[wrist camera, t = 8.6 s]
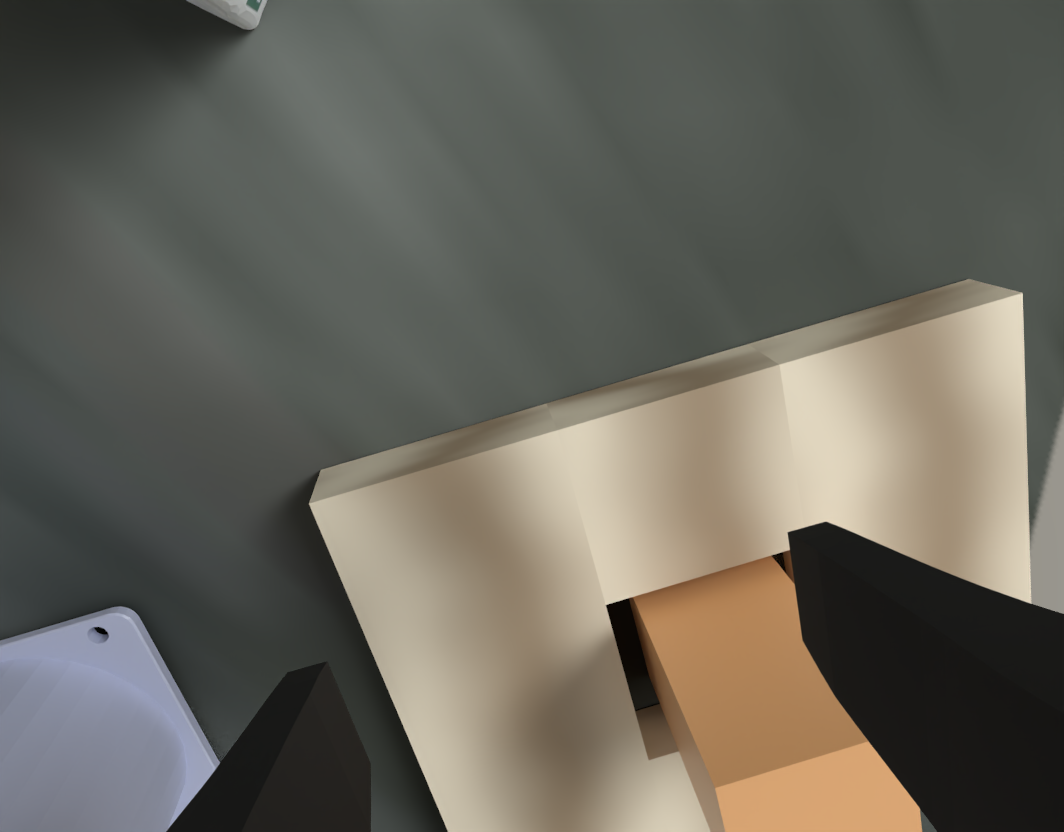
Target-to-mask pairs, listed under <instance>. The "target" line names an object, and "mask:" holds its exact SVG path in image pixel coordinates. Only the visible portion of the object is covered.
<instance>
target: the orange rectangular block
mask: <svg viewBox="0 0 1064 832" xmlns="http://www.w3.org/2000/svg"><path fill="white" fill-rule="evenodd" d="M629 601H630V605H631V609H632V612H633V616H634V620H635V624H636V628H637V632H638V635H639V639H640V643H641V647H642V651H643V654H644V658H645V662H646V666H647V670H648V674H649V677H650V680H651V682H652V685H653V687H654V690H655V692H656V695H657V697H658V700H659V702H660V705H661V707H662V710H663V713H664V715H665V718H666V720H667V723H668V725H669V728H670V730H671V733H672V735H673V738H674V740H675V743H676V745H677V748H678V750H679V753H680V755H681V758H682V760H683V763H684V766H685V768H686V771H687V773H688V776H689V778H690V781H691V783H692V786H693V788H694V791H695V793H696V796H697V798H698V801H699V803H700V806H701V808H702V811H703V814H704V816H705V819H706V821H707V824H708V826H709V829H710V831H711V832H922V827H921V818H920V808H919V807H918V805H917V804H916V803H915V801H914V800H913V799H912V797H911V796H910V795H909V794H908V792H907V791H906V790H905V788H904V787H903V786H902V784H901V783H900V782H899V780H898V779H897V778H896V777H895V775H894V774H893V773H892V771H891V770H890V769H889V767H888V766H887V765H886V764H885V762H884V761H883V760H882V758H881V757H880V756H879V754H878V753H877V752H876V750H875V749H874V748H873V747H872V745H871V744H870V743H869V741H868V740H867V739H866V737H865V736H864V735H863V733H862V732H861V731H860V729H859V728H858V727H857V725H856V724H855V723H854V721H853V720H852V719H851V717H850V716H849V715H848V714H847V712H846V711H845V709H844V708H843V707H842V705H841V704H840V703H839V701H838V700H837V699H836V697H835V696H834V694H833V692H832V691H831V689H830V687H829V686H828V684H827V682H826V681H825V679H824V677H823V676H822V674H821V672H820V671H819V669H818V667H817V665H816V663H815V662H814V660H813V658H812V656H811V655H810V653H809V651H808V649H807V648H806V646H805V644H804V642H803V640H802V634H801V626H800V619H799V612H798V605H797V598H796V590H795V584H794V583H793V582H792V581H791V579H790V578H789V577H788V576H787V574H786V573H785V572H784V571H783V569H782V568H781V567H780V566H779V564H778V563H777V562H776V561H775V560H774V558H773V557H772V556H768V557H765V558H761V559H758V560H755V561H751V562H748V563H745V564H741V565H738V566H735V567H731V568H728V569H725V570H721V571H718V572H714V573H711V574H708V575H704V576H701V577H698V578H694V579H691V580H688V581H684V582H681V583H678V584H674V585H671V586H668V587H664V588H661V589H658V590H654V591H651V592H648V593H644V594H641V595H638V596H634V597H631V598H629Z"/></svg>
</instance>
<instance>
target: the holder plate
mask: <svg viewBox="0 0 1064 832" xmlns="http://www.w3.org/2000/svg"><path fill="white" fill-rule="evenodd" d="M309 505H310V508H311V510H312V512H313V515H314V517H315V519H316V522H317V524H318V526H319V529H320V531H321V534H322V536H323V538H324V541H325V543H326V545H327V548H328V550H329V552H330V555H331V557H332V559H333V562H334V564H335V567H336V569H337V571H338V574H339V576H340V578H341V581H342V583H343V585H344V588H345V590H346V592H347V595H348V597H349V600H350V602H351V604H352V607H353V609H354V611H355V614H356V616H357V618H358V621H359V623H360V625H361V628H362V630H363V633H364V635H365V637H366V640H367V642H368V644H369V647H370V649H371V651H372V654H373V656H374V658H375V661H376V663H377V666H378V668H379V670H380V673H381V675H382V677H383V680H384V682H385V684H386V687H387V689H388V691H389V694H390V696H391V698H392V701H393V703H394V706H395V708H396V710H397V713H398V715H399V717H400V720H401V722H402V724H403V727H404V729H405V731H406V734H407V736H408V739H409V741H410V743H411V746H412V748H413V750H414V753H415V755H416V757H417V760H418V762H419V764H420V767H421V769H422V772H423V774H424V776H425V779H426V781H427V783H428V786H429V788H430V790H431V793H432V795H433V797H434V800H435V802H436V805H437V807H438V809H439V812H440V814H441V816H442V819H443V821H444V823H445V826H446V828H447V830H448V832H711V831H710V829H709V826H708V824H707V821H706V819H705V816H704V814H703V811H702V808H701V806H700V803H699V801H698V798H697V796H696V793H695V791H694V788H693V786H692V783H691V781H690V778H689V776H688V773H687V771H686V768H685V766H684V763H683V760H682V758H681V755H680V753H679V750H678V748H677V745H676V743H675V740H674V738H673V735H672V733H671V730H670V728H669V725H668V723H667V720H666V718H665V715H664V713H663V710H662V707H661V705H660V704H658V705H654V706H651V707H648V708H644V709H641V710H638V711H635V709H634V706H633V702H632V698H631V695H630V691H629V688H628V684H627V680H626V677H625V673H624V670H623V666H622V662H621V659H620V655H619V651H618V648H617V644H616V641H615V637H614V633H613V630H612V626H611V622H610V619H609V615H608V612H607V608H606V605H608V604H611V603H614V602H618V601H621V600H624V599H628V598H631V597H634V596H638V595H641V594H644V593H648V592H651V591H654V590H658V589H661V588H664V587H668V586H671V585H674V584H678V583H681V582H684V581H688V580H691V579H694V578H698V577H701V576H704V575H708V574H711V573H714V572H718V571H721V570H725V569H728V568H731V567H735V566H738V565H741V564H745V563H748V562H751V561H755V560H758V559H761V558H765V557H768V556H771V555H775V554H778V553H781V552H783V557H784V563H785V569H786V574H787V576H788V577H789V578H790V579H791V581H792V582H793V583H794V576H793V569H792V561H791V554H790V547H789V540H788V533H787V532H790V531H794V530H797V529H801V528H804V527H808V526H811V525H815V524H819V523H822V522H829V523H831V524H834V525H837V526H839V527H842V528H844V529H846V530H849V531H851V532H853V533H856V534H858V535H860V536H863V537H865V538H867V539H869V540H872V541H874V542H876V543H879V544H881V545H883V546H885V547H888V548H890V549H892V550H895V551H897V552H899V553H902V554H904V555H906V556H909V557H911V558H913V559H916V560H918V561H920V562H923V563H925V564H927V565H930V566H932V567H935V568H937V569H939V570H942V571H944V572H947V573H949V574H952V575H954V576H957V577H959V578H962V579H965V580H967V581H970V582H972V583H975V584H977V585H980V586H983V587H985V588H988V589H991V590H994V591H997V592H999V593H1002V594H1005V595H1008V596H1011V597H1013V598H1016V599H1019V600H1022V601H1025V602H1028V603H1030V604H1031V578H1030V542H1029V506H1028V470H1027V435H1026V399H1025V363H1024V327H1023V293H1021V292H1017V291H1013V290H1009V289H1005V288H1001V287H997V286H994V285H990V284H986V283H982V282H978V281H974V280H970V279H967V280H964V281H960V282H957V283H954V284H950V285H947V286H943V287H940V288H937V289H933V290H930V291H926V292H923V293H920V294H916V295H913V296H909V297H906V298H903V299H899V300H896V301H892V302H889V303H886V304H882V305H879V306H875V307H872V308H869V309H865V310H862V311H858V312H855V313H852V314H848V315H845V316H842V317H838V318H835V319H831V320H828V321H825V322H821V323H818V324H814V325H811V326H808V327H804V328H801V329H797V330H794V331H791V332H787V333H784V334H780V335H777V336H774V337H770V338H767V339H763V340H760V341H757V342H753V343H750V344H746V345H743V346H740V347H736V348H733V349H729V350H726V351H723V352H719V353H716V354H712V355H709V356H706V357H702V358H699V359H696V360H692V361H689V362H685V363H682V364H679V365H675V366H672V367H668V368H665V369H662V370H658V371H655V372H651V373H648V374H645V375H641V376H638V377H634V378H631V379H628V380H624V381H621V382H617V383H614V384H611V385H607V386H604V387H600V388H597V389H594V390H590V391H587V392H583V393H580V394H577V395H573V396H570V397H566V398H563V399H560V400H556V401H553V402H550V403H546V404H543V405H539V406H536V407H533V408H529V409H526V410H522V411H519V412H516V413H512V414H509V415H505V416H502V417H499V418H495V419H492V420H488V421H485V422H482V423H478V424H475V425H471V426H468V427H465V428H461V429H458V430H454V431H451V432H448V433H444V434H441V435H437V436H434V437H431V438H427V439H424V440H420V441H417V442H414V443H410V444H407V445H403V446H400V447H397V448H393V449H390V450H387V451H383V452H380V453H376V454H373V455H370V456H366V457H363V458H359V459H356V460H353V461H349V462H346V463H342V464H339V465H336V466H332V467H329V468H325V469H322V470H321V471H320V474H319V476H318V479H317V482H316V485H315V488H314V491H313V493H312V496H311V499H310V502H309ZM794 584H795V583H794Z"/></svg>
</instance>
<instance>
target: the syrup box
mask: <svg viewBox="0 0 1064 832" xmlns="http://www.w3.org/2000/svg"><path fill="white" fill-rule="evenodd" d="M186 1H188V2H190V3H192V4H194V5H196V6H198V7H200V8H202V9H204V10H206V11H208V12H210V13H212V14H214V15H216V16H218V17H220V18H222V19H224V20H226V21H228V22H230V23H232V24H234V25H236V26H238V27H240V28H242V29H247V30H252V29H255V28H256V27H257V26H258V23H259V20H260V17H261V15H262V12H263V9H264V7H265V5H266V2H267V0H186Z"/></svg>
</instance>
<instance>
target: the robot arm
mask: <svg viewBox="0 0 1064 832" xmlns="http://www.w3.org/2000/svg"><path fill="white" fill-rule="evenodd" d="M787 533H788V540H789V547H790V554H791V561H792V569H793V576H794V583H795V590H796V598H797V605H798V612H799V619H800V626H801V634H802V640H803V642H804V644H805V646H806V648H807V649H808V651H809V653H810V655H811V656H812V658H813V660H814V662H815V663H816V665H817V667H818V669H819V671H820V672H821V674H822V676H823V677H824V679H825V681H826V682H827V684H828V686H829V687H830V689H831V691H832V692H833V694H834V696H835V697H836V699H837V700H838V701H839V703H840V704H841V705H842V707H843V708H844V709H845V711H846V712H847V714H848V715H849V716H850V717H851V719H852V720H853V721H854V723H855V724H856V725H857V727H858V728H859V729H860V731H861V732H862V733H863V735H864V736H865V737H866V739H867V740H868V741H869V743H870V744H871V745H872V747H873V748H874V749H875V750H876V752H877V753H878V754H879V756H880V757H881V758H882V760H883V761H884V762H885V764H886V765H887V766H888V767H889V769H890V770H891V771H892V773H893V774H894V775H895V777H896V778H897V779H898V780H899V782H900V783H901V784H902V786H903V787H904V788H905V790H906V791H907V792H908V794H909V795H910V796H911V797H912V799H913V800H914V801H915V803H916V804H917V805H918V807H919V808H920V809H921V811H922V812H923V813H924V814H925V816H926V817H927V818H928V820H929V821H930V822H931V824H932V825H933V826H934V828H935V829H936V830H937V832H1064V614H1062V613H1058V612H1055V611H1052V610H1049V609H1046V608H1042V607H1039V606H1036V605H1033V604H1030V603H1028V602H1025V601H1022V600H1019V599H1016V598H1013V597H1011V596H1008V595H1005V594H1002V593H999V592H997V591H994V590H991V589H988V588H985V587H983V586H980V585H977V584H975V583H972V582H970V581H967V580H965V579H962V578H959V577H957V576H954V575H952V574H949V573H947V572H944V571H942V570H939V569H937V568H935V567H932V566H930V565H927V564H925V563H923V562H920V561H918V560H916V559H913V558H911V557H909V556H906V555H904V554H902V553H899V552H897V551H895V550H892V549H890V548H888V547H885V546H883V545H881V544H879V543H876V542H874V541H872V540H869V539H867V538H865V537H863V536H860V535H858V534H856V533H853V532H851V531H849V530H846V529H844V528H842V527H839V526H837V525H834V524H831V523H829V522H822V523H819V524H815V525H811V526H808V527H804V528H801V529H797V530H794V531H790V532H787ZM94 627H101V628H104V629H105V630H106V631H107V632H108V634H105V635H103V634H100V633H98V632H97V631H96V630H95V629H94ZM0 832H371V771H370V761H369V759H368V756H367V754H366V752H365V749H364V747H363V745H362V742H361V740H360V738H359V735H358V733H357V731H356V728H355V726H354V723H353V721H352V719H351V716H350V714H349V712H348V709H347V707H346V705H345V702H344V700H343V698H342V695H341V693H340V690H339V688H338V686H337V683H336V681H335V679H334V676H333V674H332V672H331V669H330V667H329V664H328V662H323V663H320V664H316V665H313V666H309V667H305V668H302V669H298V670H295V671H291V672H288V673H287V674H286V675H285V677H284V678H283V679H282V680H281V681H280V683H279V684H278V685H277V687H276V688H275V689H274V691H273V692H272V693H271V695H270V696H269V697H268V699H267V700H266V701H265V703H264V704H263V706H262V707H261V708H260V710H259V711H258V712H257V714H256V715H255V717H254V718H253V719H252V721H251V722H250V723H249V725H248V726H247V728H246V729H245V730H244V732H243V733H242V734H241V736H240V737H239V738H238V740H237V741H236V743H235V744H234V745H233V747H232V748H231V749H230V751H229V752H228V753H227V755H226V756H225V757H224V759H223V760H222V761H221V763H220V762H219V760H218V759H217V757H216V755H215V753H214V751H213V750H212V748H211V746H210V744H209V742H208V740H207V739H206V737H205V735H204V733H203V731H202V730H201V728H200V726H199V724H198V722H197V721H196V719H195V717H194V715H193V713H192V712H191V710H190V708H189V706H188V704H187V702H186V701H185V699H184V697H183V695H182V693H181V692H180V690H179V688H178V686H177V684H176V683H175V681H174V679H173V677H172V675H171V673H170V672H169V670H168V668H167V666H166V664H165V663H164V661H163V659H162V657H161V655H160V654H159V652H158V650H157V648H156V646H155V645H154V643H153V641H152V639H151V637H150V635H149V634H148V632H147V630H146V628H145V626H144V625H143V623H142V621H141V619H140V617H139V616H138V615H137V614H136V612H135V611H133V610H131V609H129V608H126V607H121V606H119V607H112V608H109V609H105V610H102V611H99V612H95V613H92V614H88V615H85V616H82V617H78V618H75V619H72V620H68V621H65V622H61V623H58V624H55V625H51V626H48V627H45V628H41V629H38V630H34V631H31V632H28V633H24V634H21V635H18V636H14V637H11V638H7V639H4V640H1V641H0Z"/></svg>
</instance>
